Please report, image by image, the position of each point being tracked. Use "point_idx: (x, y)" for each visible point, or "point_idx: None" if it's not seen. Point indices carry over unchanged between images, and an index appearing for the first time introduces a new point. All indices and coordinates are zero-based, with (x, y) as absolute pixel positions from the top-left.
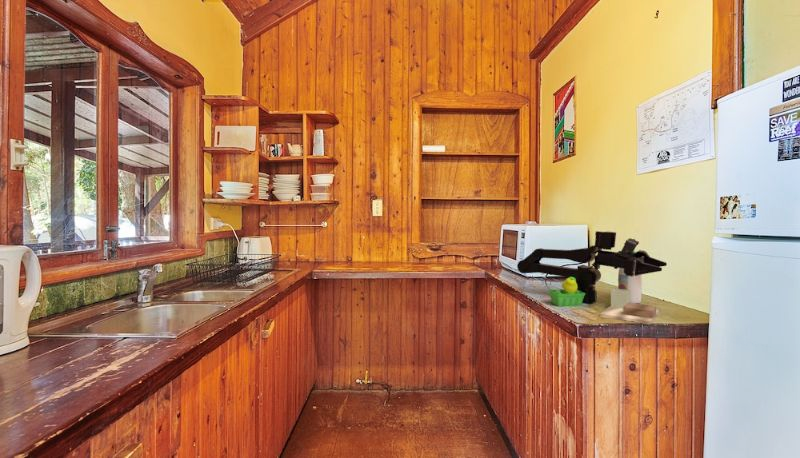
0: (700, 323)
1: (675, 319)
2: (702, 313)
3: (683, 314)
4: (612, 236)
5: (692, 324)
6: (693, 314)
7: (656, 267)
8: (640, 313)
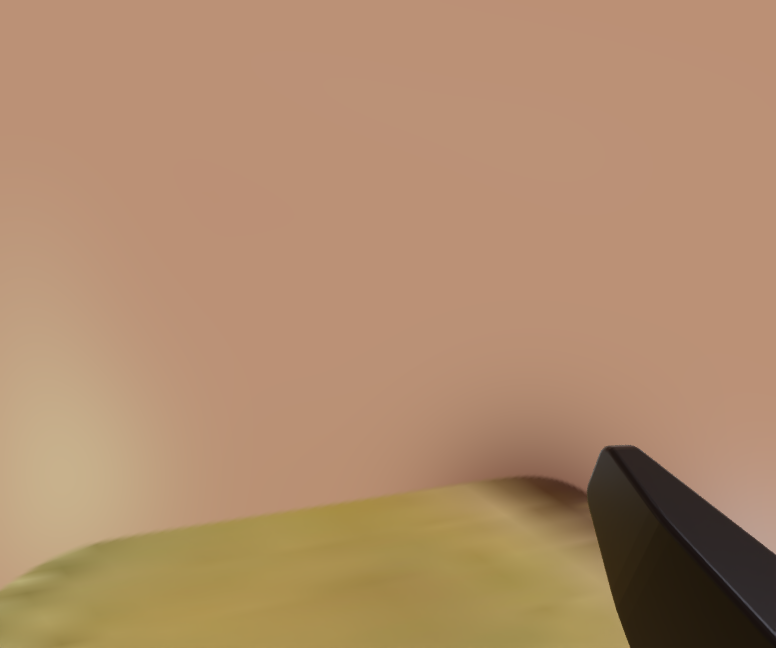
0: (509, 486)
1: (544, 637)
2: (144, 534)
3: (286, 633)
4: None
5: (589, 514)
6: (229, 574)
7: (718, 525)
8: None
